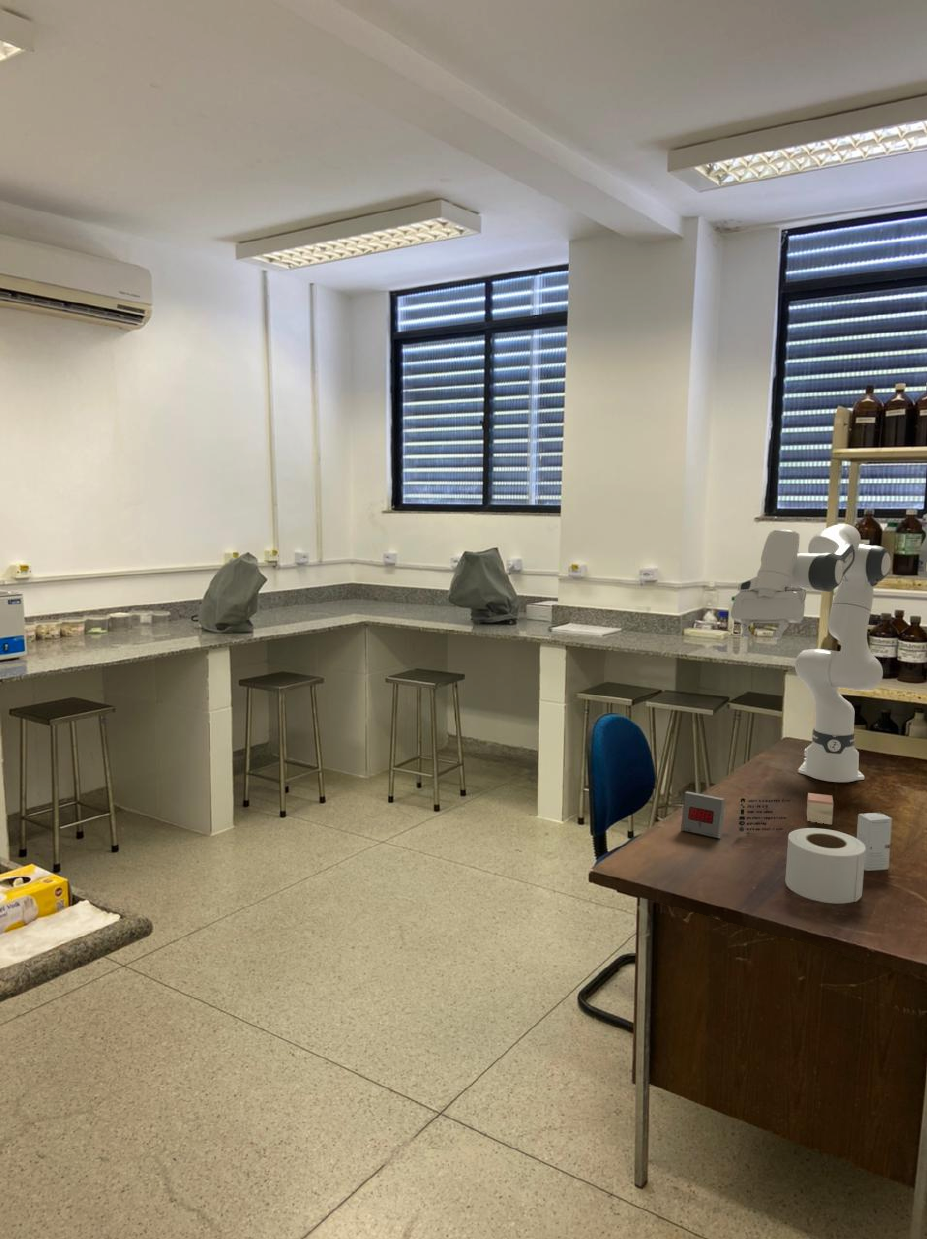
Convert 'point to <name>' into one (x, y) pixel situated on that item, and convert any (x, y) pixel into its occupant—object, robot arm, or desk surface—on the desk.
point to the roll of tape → (825, 865)
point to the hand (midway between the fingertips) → (760, 637)
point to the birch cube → (820, 808)
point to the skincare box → (875, 839)
